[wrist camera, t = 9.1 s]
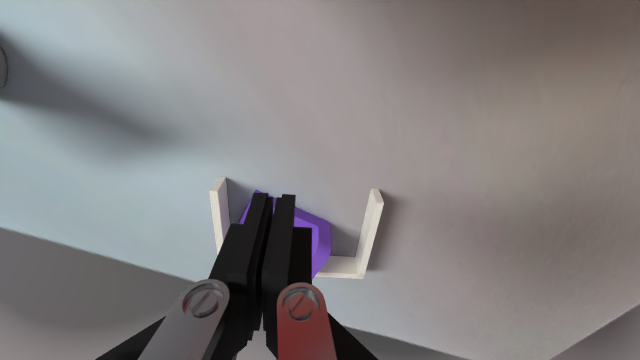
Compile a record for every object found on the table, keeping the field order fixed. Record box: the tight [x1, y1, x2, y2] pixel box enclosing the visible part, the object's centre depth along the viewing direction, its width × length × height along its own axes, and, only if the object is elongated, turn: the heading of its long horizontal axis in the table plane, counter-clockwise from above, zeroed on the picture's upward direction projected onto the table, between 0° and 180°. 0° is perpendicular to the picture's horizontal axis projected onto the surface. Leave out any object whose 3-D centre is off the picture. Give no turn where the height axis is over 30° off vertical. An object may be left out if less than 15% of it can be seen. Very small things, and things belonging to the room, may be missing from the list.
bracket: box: [238, 190, 332, 279], centre depth 37 cm, size 12×7×7 cm, turn 60°
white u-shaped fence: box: [209, 177, 384, 279], centre depth 38 cm, size 14×22×4 cm, turn 84°
